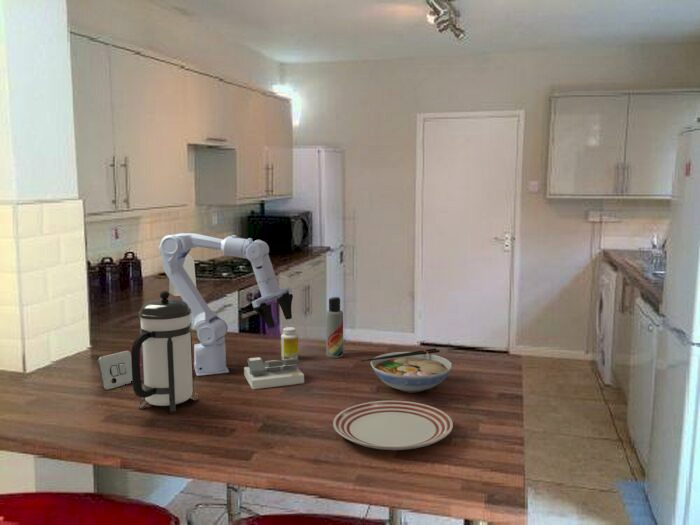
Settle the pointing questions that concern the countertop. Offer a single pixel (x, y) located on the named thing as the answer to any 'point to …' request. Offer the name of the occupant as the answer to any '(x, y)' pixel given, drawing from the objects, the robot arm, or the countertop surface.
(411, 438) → the dinner plate
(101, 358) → the electrical switch
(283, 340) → the supplement bottle
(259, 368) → the panel
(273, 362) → the rocker middle
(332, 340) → the lotion bottle
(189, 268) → the milk
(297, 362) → the rocker right
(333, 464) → the countertop surface
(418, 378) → the ramen bowl
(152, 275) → the countertop surface
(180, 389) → the coffee press
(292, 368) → the switch unit
